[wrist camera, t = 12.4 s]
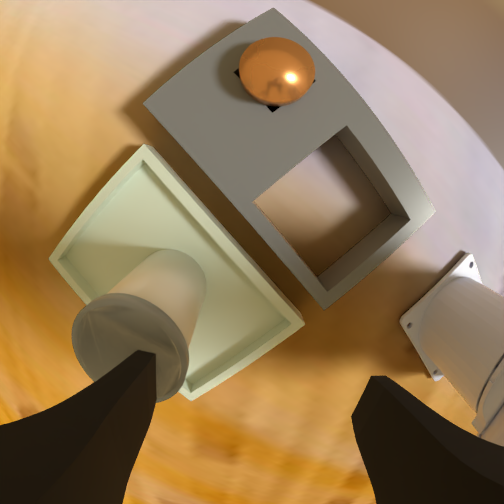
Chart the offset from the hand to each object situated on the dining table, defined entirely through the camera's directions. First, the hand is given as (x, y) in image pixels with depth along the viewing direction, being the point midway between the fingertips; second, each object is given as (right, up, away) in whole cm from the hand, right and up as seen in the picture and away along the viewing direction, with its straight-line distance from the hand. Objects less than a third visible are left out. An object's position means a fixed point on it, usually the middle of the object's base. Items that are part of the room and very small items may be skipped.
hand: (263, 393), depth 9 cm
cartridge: (-5, +3, +9) cm, 11 cm away
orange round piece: (+1, +14, +6) cm, 15 cm away
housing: (+2, +10, +8) cm, 13 cm away
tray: (-6, +3, +9) cm, 11 cm away
